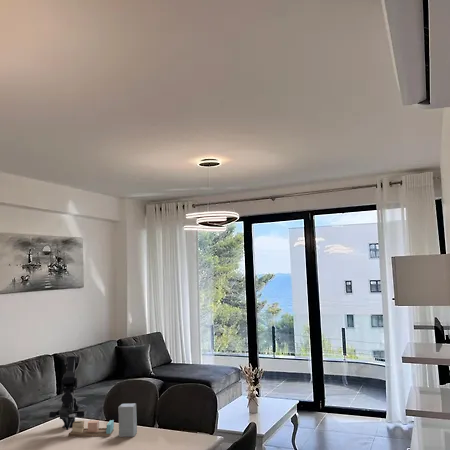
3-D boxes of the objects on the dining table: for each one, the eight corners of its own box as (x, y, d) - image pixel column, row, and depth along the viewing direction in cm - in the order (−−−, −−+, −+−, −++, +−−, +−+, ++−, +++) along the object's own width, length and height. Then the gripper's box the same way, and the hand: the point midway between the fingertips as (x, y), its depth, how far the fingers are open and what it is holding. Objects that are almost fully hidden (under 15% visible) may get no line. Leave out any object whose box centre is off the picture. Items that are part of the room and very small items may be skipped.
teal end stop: (109, 428, 253) (110, 420, 254) (113, 428, 253) (113, 420, 254) (106, 433, 244) (106, 425, 245) (110, 433, 244) (110, 425, 245)
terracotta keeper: (89, 430, 250) (89, 420, 251) (98, 429, 251) (99, 420, 251) (87, 432, 246) (87, 422, 247) (96, 432, 246) (97, 422, 247)
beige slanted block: (74, 430, 250) (75, 420, 251) (84, 430, 250) (84, 420, 251) (72, 433, 246) (72, 423, 246) (81, 432, 246) (82, 422, 247)
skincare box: (137, 433, 248) (137, 402, 250) (133, 437, 241) (133, 406, 243) (121, 433, 249) (122, 402, 251) (117, 437, 242) (118, 406, 244)
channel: (73, 431, 252) (73, 428, 252) (113, 430, 253) (113, 427, 253) (68, 437, 243) (68, 433, 244) (110, 436, 244) (110, 432, 244)
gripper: (45, 403, 242) (44, 435, 240) (81, 403, 242) (80, 434, 240) (53, 398, 253) (51, 428, 251) (87, 398, 253) (86, 428, 251)
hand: (67, 430), depth 248 cm, fingers closed
